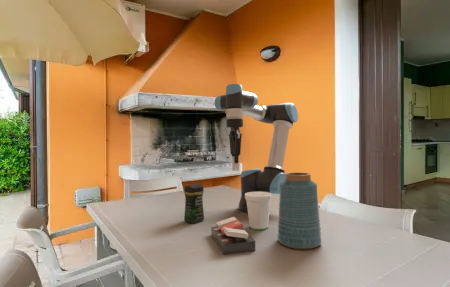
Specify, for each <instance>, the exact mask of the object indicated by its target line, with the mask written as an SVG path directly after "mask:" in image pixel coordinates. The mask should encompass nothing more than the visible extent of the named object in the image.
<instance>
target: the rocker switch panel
mask: <svg viewBox="0 0 450 287" xmlns="http://www.w3.org/2000/svg"><path fill="white" fill-rule="evenodd" d="M210 229H211V230H210V232H211V237H212V239H213V240H214V241H215V244H216V245H217V247H218V249H219V251H220V252H221V254H222V255H223V256H226V255H231V254H240V253H249V252H255V251H256V240H254V238H253V237H251V235H250V234H249V233H248V238H240V237H232V236H227V235H223V233H222V232H221V230H220V229H219V228H218V226H217V225H216V226H211V227H210ZM239 230H245V229H244V227H243V228H241V229H239Z"/></svg>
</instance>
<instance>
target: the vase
mask: <svg viewBox="0 0 450 287" xmlns="http://www.w3.org/2000/svg"><path fill="white" fill-rule="evenodd" d="M285 174H286V180H284V181H283V182H281V183H280V194H279V199H278V200H279V203H278V204H279V205H278V222H277V223H278V225H277V240H278V242H279V243H280V244H282V245H283V246H285V247H287V248H290V249H294V250H303V251H304V250H312V249H315V248H317V247H319V246H320V245H321V244H322V232H321V220H320V208H319V194H318V184H317V183H316V182H314V181H313V180H312V179H311V173H308V172H303V171H302V172H295V171H294V172H293V171H292V172H287V173H286V172H285Z"/></svg>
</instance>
